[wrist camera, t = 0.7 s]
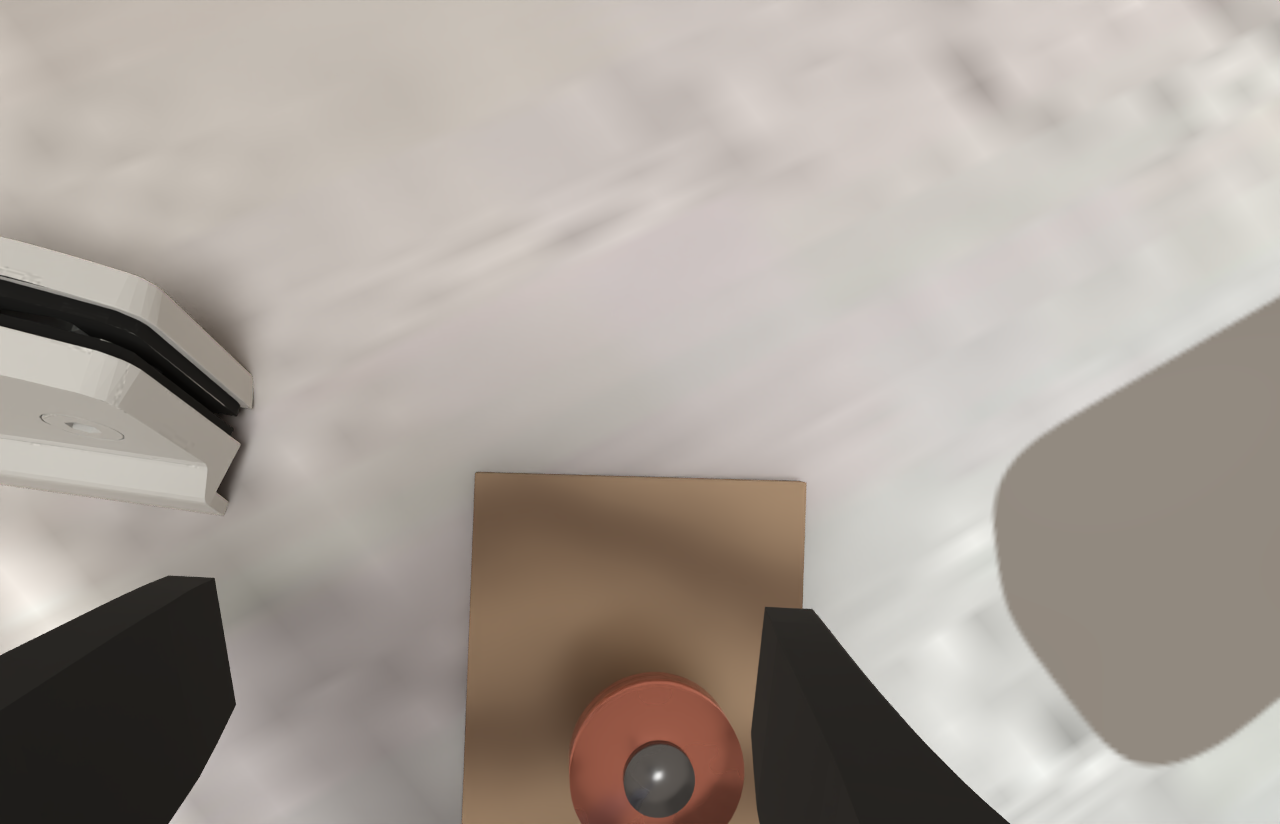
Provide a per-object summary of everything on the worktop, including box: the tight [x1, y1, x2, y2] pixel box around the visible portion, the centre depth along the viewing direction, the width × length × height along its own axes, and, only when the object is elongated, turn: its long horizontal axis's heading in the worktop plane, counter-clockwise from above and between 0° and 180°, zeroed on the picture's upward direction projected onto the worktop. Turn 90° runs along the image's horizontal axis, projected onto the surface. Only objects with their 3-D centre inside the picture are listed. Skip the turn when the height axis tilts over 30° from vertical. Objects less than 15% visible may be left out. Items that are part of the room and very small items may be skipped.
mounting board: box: [462, 472, 806, 824], centre depth 29 cm, size 20×12×1 cm, turn 178°
